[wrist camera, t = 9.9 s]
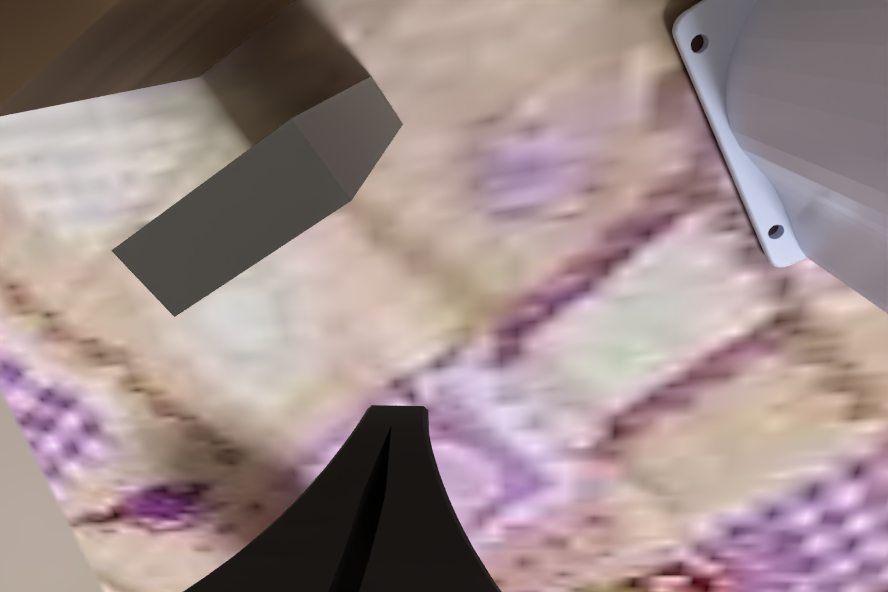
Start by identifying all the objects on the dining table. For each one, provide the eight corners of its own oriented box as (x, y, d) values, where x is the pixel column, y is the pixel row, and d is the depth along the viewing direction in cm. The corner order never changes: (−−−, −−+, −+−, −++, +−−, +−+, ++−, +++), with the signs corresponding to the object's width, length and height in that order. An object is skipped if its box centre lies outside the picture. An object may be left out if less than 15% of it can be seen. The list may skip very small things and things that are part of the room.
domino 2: (402, 124, 19) (351, 200, 11) (293, 198, 20) (174, 316, 12) (371, 75, 18) (290, 117, 10) (260, 156, 19) (111, 250, 11)
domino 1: (312, -13, 17) (170, -45, 9) (198, 76, 18) (-16, 119, 10) (274, -72, 16) (85, -163, 8) (159, 25, 18) (-102, 27, 10)
